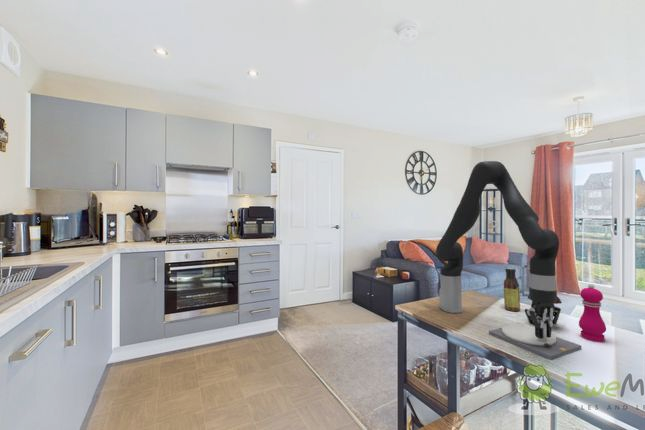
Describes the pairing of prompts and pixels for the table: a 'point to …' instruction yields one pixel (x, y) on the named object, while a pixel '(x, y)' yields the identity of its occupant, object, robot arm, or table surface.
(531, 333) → the cam dial
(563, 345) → the dial base
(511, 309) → the sauce bottle
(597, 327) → the pepper mill
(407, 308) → the table surface
